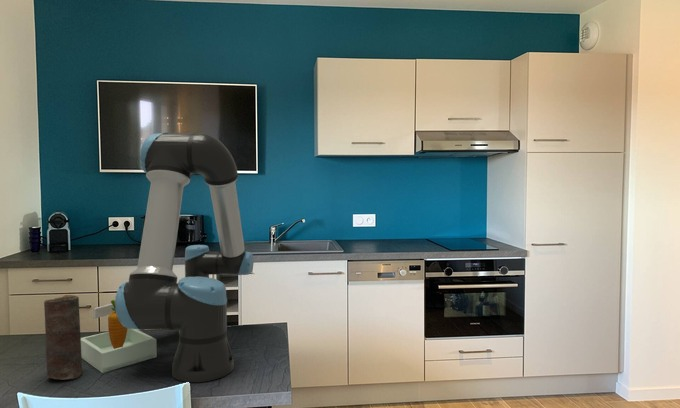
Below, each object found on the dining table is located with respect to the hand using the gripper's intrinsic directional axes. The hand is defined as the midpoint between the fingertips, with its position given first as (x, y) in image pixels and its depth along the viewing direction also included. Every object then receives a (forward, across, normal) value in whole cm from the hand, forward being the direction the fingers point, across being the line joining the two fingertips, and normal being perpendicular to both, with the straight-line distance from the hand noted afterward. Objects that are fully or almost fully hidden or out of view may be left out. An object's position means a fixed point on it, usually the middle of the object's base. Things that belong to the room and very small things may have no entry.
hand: (109, 317), depth 119 cm
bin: (-2, 0, -12) cm, 12 cm away
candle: (+12, 0, -12) cm, 17 cm away
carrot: (-2, 0, -11) cm, 11 cm away
